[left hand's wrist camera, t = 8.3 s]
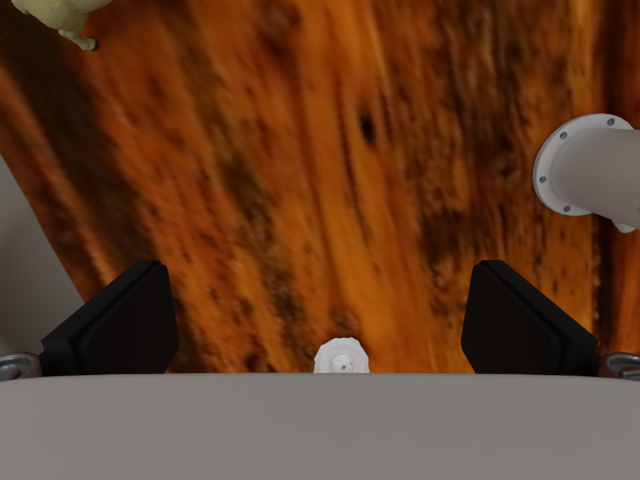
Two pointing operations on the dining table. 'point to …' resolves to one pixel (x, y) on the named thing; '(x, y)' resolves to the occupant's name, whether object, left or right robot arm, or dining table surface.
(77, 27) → the toy
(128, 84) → the dining table surface
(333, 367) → the seashell
